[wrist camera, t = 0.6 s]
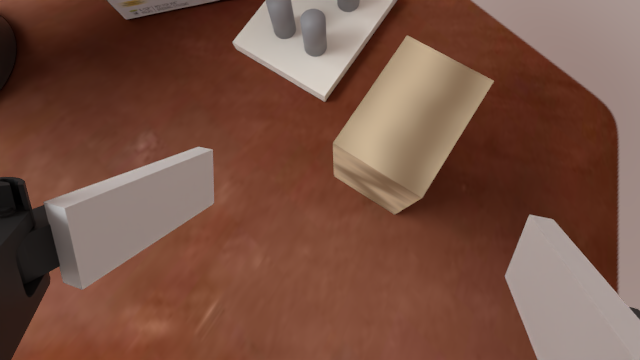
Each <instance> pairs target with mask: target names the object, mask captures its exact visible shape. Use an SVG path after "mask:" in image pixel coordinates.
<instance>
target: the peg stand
mask: <svg viewBox="0 0 640 360" xmlns="http://www.w3.org/2000/svg"><path fill="white" fill-rule="evenodd" d="M396 1H397V0H266V1H265V2H264V3H263V4H262V6H261V7H260V8H259V9H258V11H257V12H256V13H255V14H254V16H253V17H252V18H251V19H250V21H249V22H248V23H247V24H246V26H245V27H244V28H243V29H242V31H241V32H240V33H239V34H238V36H237V37H236V38H235V39H234V41H233V44H234V46H235V48H236V49H237V50H238V51H240V52H242V53H243V54H245V55H247V56H248V57H250V58H252V59H253V60H255V61H257V62H258V63H260V64H262V65H264V66H265V67H267V68H269V69H270V70H272V71H274V72H275V73H277V74H279V75H280V76H282V77H284V78H285V79H287V80H289V81H290V82H292V83H294V84H295V85H297V86H299V87H301V88H302V89H304V90H306V91H307V92H309V93H311V94H312V95H314V96H316V97H317V98H319V99H321V100H322V101H324V102H325V101H326V100H327V98H328V97H329V95H330V94H331V93H332V91H333V90H334V88H335V87H336V86H337V84H338V83H339V81H340V80H341V79H342V77H343V76H344V74H345V73H346V72H347V70H348V69H349V67H350V66H351V65H352V63H353V62H354V60H355V59H356V58H357V56H358V55H359V53H360V52H361V51H362V49H363V48H364V46H365V45H366V44H367V42H368V41H369V39H370V38H371V37H372V35H373V34H374V32H375V31H376V29H377V28H378V27H379V25H380V24H381V22H382V21H383V20H384V18H385V17H386V15H387V14H388V13H389V11H390V10H391V8H392V7H393V6H394V4H395V3H396Z"/></svg>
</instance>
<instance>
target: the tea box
mask: <svg viewBox="0 0 640 360" xmlns="http://www.w3.org/2000/svg"><path fill="white" fill-rule="evenodd" d="M107 1H108V2H109V3H110V4H111V5H112V6H113V7H114V8H115V9H116V10H117V11H118V12H119V13H120V14H121V15H122V16H123V17H124V18H125V19H126V20H127V19H132V18H137V17H141V16H146V15H151V14H155V13H160V12H165V11H170V10H175V9H180V8H185V7H190V6H194V5H199V4H204V3H209V2H214V1H219V0H107Z"/></svg>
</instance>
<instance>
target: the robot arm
mask: <svg viewBox="0 0 640 360" xmlns="http://www.w3.org/2000/svg"><path fill="white" fill-rule="evenodd" d="M15 57H16V40H15V36H14V33H13V30H12V29H11V27H10V25H9V24H8V22H7V21H6V20H5V19H4V18H3V17H1V16H0V89H1V88H2V87H3V85H4V84H5V82H6V81H7V79H8V77H9V75H10V73H11V71H12V68H13V65H14V62H15ZM212 204H214V180H213V150H212V149H207V148H202V147H196V148H193V149H191V150H188V151H185V152H182V153H179V154H177V155H174V156H171V157H168V158H165V159H163V160H160V161H157V162H154V163H151V164H149V165H146V166H143V167H140V168H137V169H135V170H132V171H129V172H126V173H123V174H121V175H118V176H115V177H112V178H109V179H107V180H104V181H101V182H98V183H95V184H93V185H90V186H87V187H84V188H81V189H79V190H76V191H73V192H70V193H67V194H65V195H62V196H59V197H56V198H53V199H51V200H48V201H45V202H44V205H43V206H40V207H37V208H35V209H32V207H31V204H30V200H29V196H28V192H27V188H26V185H25V181H24V180H22V179H20V178H15V177H0V360H11V359H12V357H13V355H14V353H15V351H16V349H17V347H18V345H19V343H20V341H21V339H22V337H23V335H24V333H25V331H26V329H27V327H28V325H29V323H30V322H31V320H32V318H33V316H34V314H35V312H36V310H37V308H38V306H39V304H40V302H41V300H42V298H43V296H44V294H45V292H46V290H47V288H48V286H49V284H50V276H49V272H50V271H52V270H53V269H55V268H57V267H60V271H61V275H62V279H63V283H66V284H69V285H71V286H74V287H77V288H79V289H82V290H83V289H84V288H86V287H87V286H89V285H90V284H92V283H93V282H95V281H97V280H98V279H100V278H101V277H103V276H104V275H106V274H107V273H109V272H110V271H112V270H113V269H115V268H116V267H118V266H119V265H121V264H122V263H124V262H125V261H127V260H129V259H130V258H132V257H133V256H135V255H136V254H138V253H139V252H141V251H142V250H144V249H145V248H147V247H148V246H150V245H151V244H153V243H154V242H156V241H157V240H159V239H161V238H162V237H164V236H165V235H167V234H168V233H170V232H171V231H173V230H174V229H176V228H177V227H179V226H180V225H182V224H183V223H185V222H186V221H188V220H189V219H191V218H193V217H194V216H196V215H197V214H199V213H200V212H202V211H203V210H205V209H206V208H208V207H209V206H211V205H212ZM505 278H506V281H507V283H508V286H509V288H510V291H511V294H512V296H513V299H514V301H515V304H516V306H517V309H518V311H519V314H520V316H521V319H522V321H523V324H524V326H525V329H526V332H527V334H528V337H529V339H530V342H531V344H532V347H533V349H534V352H535V354H536V357H537V359H538V360H640V311H639V310H638V309H635V308H631V307H628V306H627V305H626V303H625V302H624V301H623V300H622V299H621V297H620V296H619V295H618V294H617V293H616V292H615V291H614V289H613V288H612V287H611V286H610V285H609V284H608V282H607V281H606V280H605V279H604V278H603V277H602V275H601V274H600V273H599V272H598V271H597V270H596V268H595V267H594V266H593V265H592V264H591V263H590V261H589V260H588V259H587V258H586V257H585V256H584V254H583V253H582V252H581V251H580V250H579V249H578V248H577V246H576V245H575V244H574V243H573V242H572V241H571V239H570V238H569V237H568V236H567V235H566V234H565V232H564V231H563V230H562V229H561V228H560V227H559V225H558V224H557V223H556V222H555V221H554V220H553V219H549V218H544V217H540V216H535V215H530V214H529V216H528V219H527V221H526V224H525V226H524V229H523V231H522V234H521V237H520V239H519V242H518V244H517V247H516V249H515V252H514V254H513V257H512V259H511V262H510V264H509V267H508V269H507V272H506V274H505Z"/></svg>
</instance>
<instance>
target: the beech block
mask: <svg viewBox="0 0 640 360" xmlns="http://www.w3.org/2000/svg"><path fill="white" fill-rule="evenodd" d="M493 82H494V81H493V80H491V79H489V78H487V77H485V76H484V75H482V74H480V73H478V72H476V71H474V70H472V69H470V68H468V67H466V66H465V65H463V64H461V63H459V62H457V61H455V60H453V59H451V58H449V57H447V56H446V55H444V54H442V53H440V52H438V51H436V50H434V49H432V48H430V47H428V46H427V45H425V44H423V43H421V42H419V41H417V40H415V39H413V38H411V37H409V36H408V35H407V36H406V38H405V39H404V41H403V42H402V44H401V45H400V46H399V48H398V49H397V51H396V52H395V54H394V55H393V57H392V58H391V60H390V61H389V62H388V64H387V65H386V67H385V68H384V70H383V71H382V73H381V74H380V75H379V77H378V78H377V80H376V81H375V83H374V84H373V86H372V87H371V89H370V90H369V91H368V93H367V94H366V96H365V97H364V99H363V100H362V102H361V103H360V104H359V106H358V107H357V109H356V110H355V112H354V113H353V115H352V116H351V118H350V119H349V120H348V122H347V123H346V125H345V126H344V128H343V129H342V131H341V132H340V134H339V135H338V136H337V138H336V139H335V141H334V142H333V162H334V176H335V177H336V178H338V179H339V180H341V181H343V182H344V183H346V184H347V185H349V186H350V187H352V188H354V189H355V190H357V191H358V192H360V193H361V194H363V195H365V196H366V197H368V198H369V199H371V200H372V201H374V202H376V203H377V204H379V205H380V206H382V207H383V208H385V209H387V210H388V211H390V212H391V213H393V214H394V215H395V214H396V213H398V212H400V211H401V210H403V209H405V208H406V207H408V206H410V205H411V204H413V203H415V202H416V201H418V200H420V199H421V198H422V197H423V196H424V194H425V193H426V191H427V189H428V188H429V186H430V184H431V183H432V181H433V180H434V178H435V176H436V175H437V173H438V171H439V170H440V168H441V167H442V165H443V163H444V162H445V160H446V158H447V157H448V155H449V153H450V152H451V150H452V149H453V147H454V145H455V144H456V142H457V140H458V139H459V137H460V136H461V134H462V132H463V131H464V129H465V127H466V126H467V124H468V123H469V121H470V119H471V118H472V116H473V114H474V113H475V111H476V110H477V108H478V106H479V105H480V103H481V101H482V100H483V98H484V96H485V95H486V93H487V92H488V90H489V88H490V87H491V85H492V83H493Z"/></svg>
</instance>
